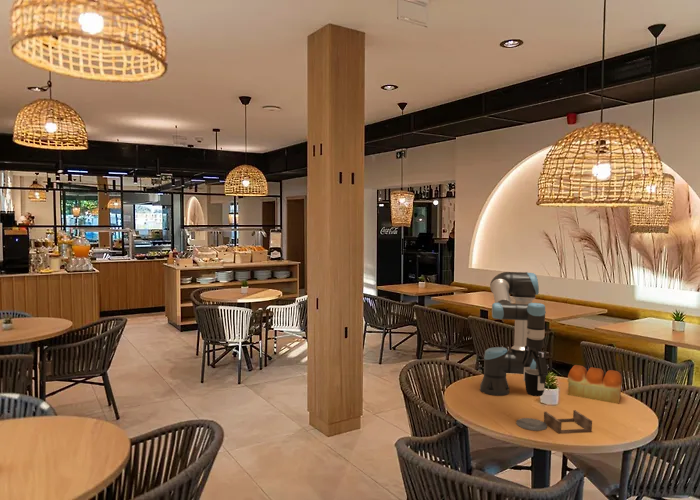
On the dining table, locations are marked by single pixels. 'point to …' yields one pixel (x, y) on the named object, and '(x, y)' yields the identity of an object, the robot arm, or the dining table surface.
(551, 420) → the frame
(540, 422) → the coaster
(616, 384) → the bread
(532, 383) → the mug
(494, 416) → the dining table surface
